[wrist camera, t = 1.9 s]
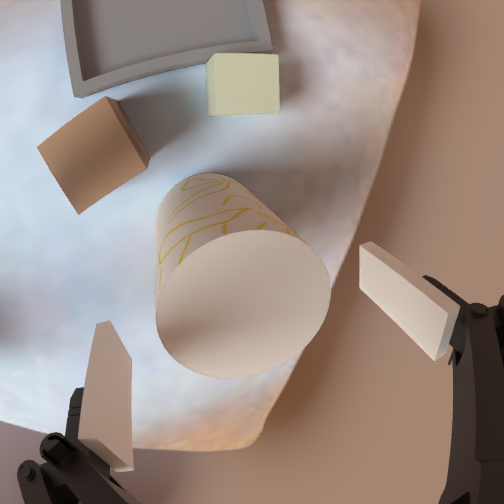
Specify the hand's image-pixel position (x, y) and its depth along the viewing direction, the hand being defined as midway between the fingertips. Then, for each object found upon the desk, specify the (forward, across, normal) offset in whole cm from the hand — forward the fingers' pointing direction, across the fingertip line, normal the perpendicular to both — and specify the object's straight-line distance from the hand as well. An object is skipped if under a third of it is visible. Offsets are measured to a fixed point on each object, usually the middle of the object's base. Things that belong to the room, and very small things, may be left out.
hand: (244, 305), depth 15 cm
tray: (+10, 0, +20) cm, 22 cm away
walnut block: (+11, -6, +8) cm, 15 cm away
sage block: (+11, +4, +10) cm, 15 cm away
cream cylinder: (+11, 0, 0) cm, 11 cm away
